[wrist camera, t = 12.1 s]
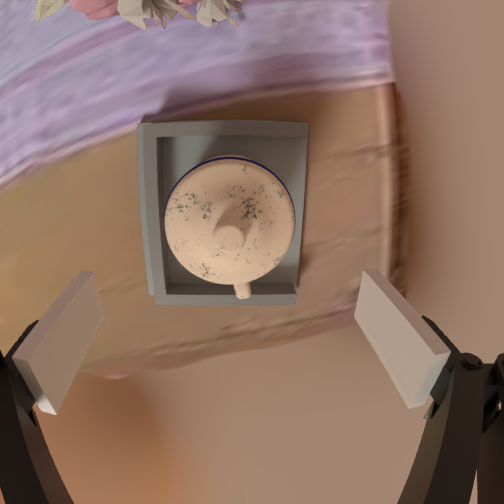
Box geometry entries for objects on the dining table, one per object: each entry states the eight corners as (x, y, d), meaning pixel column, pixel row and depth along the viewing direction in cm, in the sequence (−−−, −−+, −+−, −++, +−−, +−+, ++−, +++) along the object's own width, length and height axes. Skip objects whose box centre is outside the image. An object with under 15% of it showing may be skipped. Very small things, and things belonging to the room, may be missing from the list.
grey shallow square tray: (139, 123, 26) (129, 122, 23) (306, 123, 27) (314, 122, 24) (151, 291, 32) (144, 306, 30) (294, 291, 34) (300, 306, 31)
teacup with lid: (174, 160, 27) (137, 177, 16) (271, 144, 27) (297, 149, 16) (198, 276, 31) (185, 348, 20) (285, 262, 31) (312, 328, 21)
